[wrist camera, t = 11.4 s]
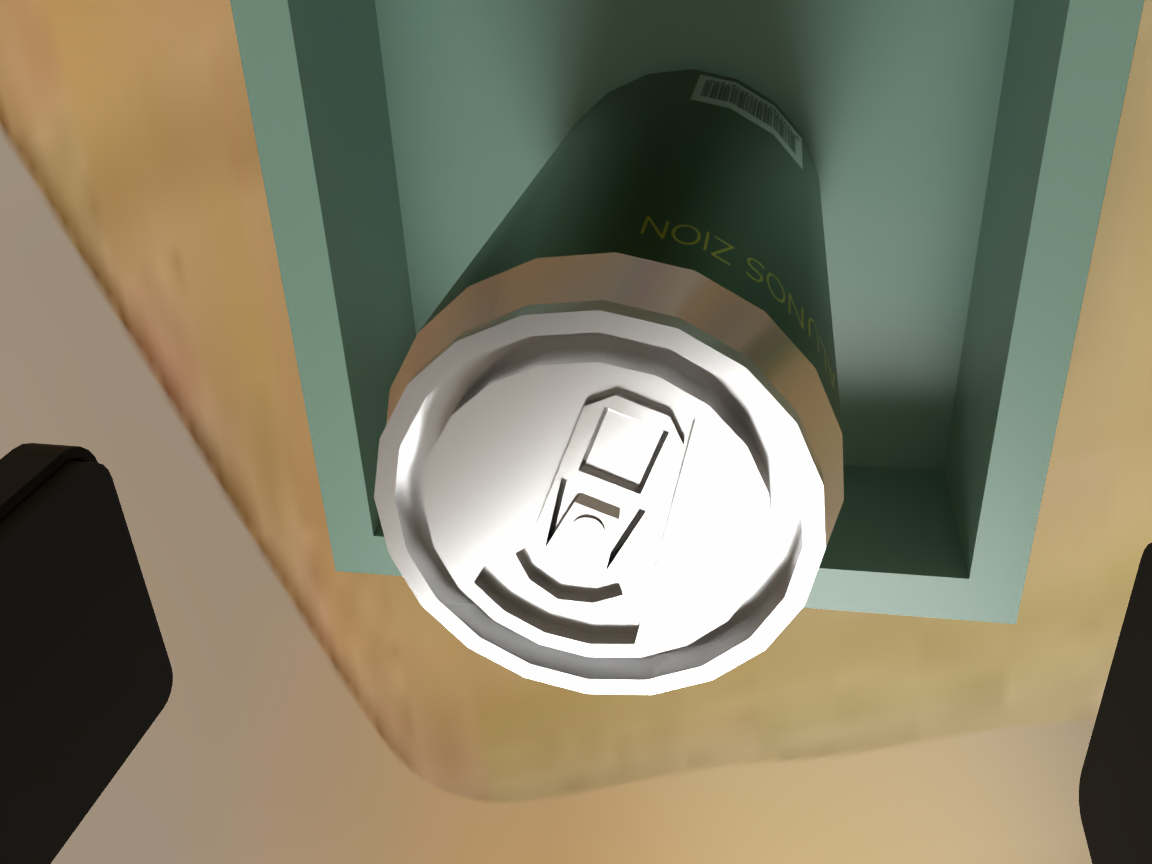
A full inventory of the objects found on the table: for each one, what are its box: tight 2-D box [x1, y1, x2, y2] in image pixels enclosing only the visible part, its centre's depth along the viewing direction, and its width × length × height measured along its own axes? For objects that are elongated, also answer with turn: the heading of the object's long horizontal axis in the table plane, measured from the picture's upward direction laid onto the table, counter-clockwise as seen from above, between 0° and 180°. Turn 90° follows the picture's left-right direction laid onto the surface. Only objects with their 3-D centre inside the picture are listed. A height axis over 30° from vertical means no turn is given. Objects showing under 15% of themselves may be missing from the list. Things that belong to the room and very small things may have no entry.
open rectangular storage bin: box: [230, 0, 1144, 624], centre depth 21 cm, size 14×14×5 cm
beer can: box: [374, 69, 844, 695], centre depth 17 cm, size 5×5×12 cm
